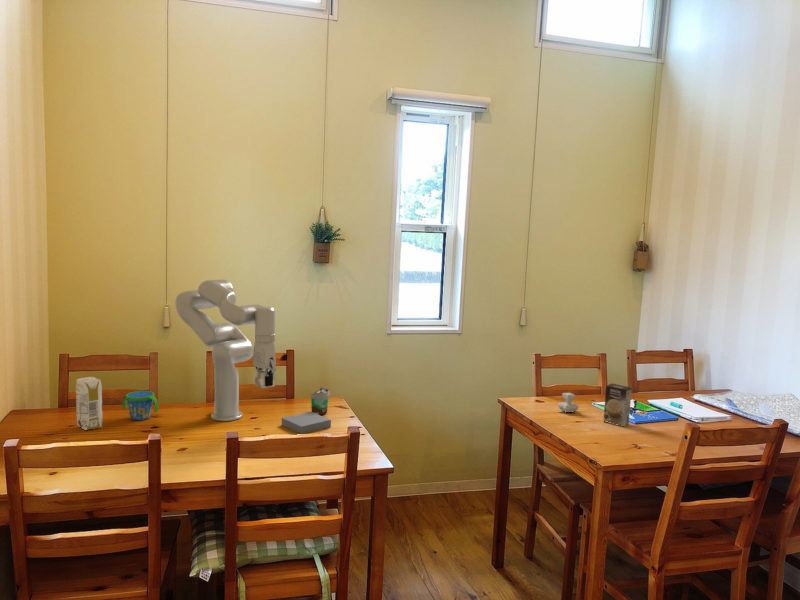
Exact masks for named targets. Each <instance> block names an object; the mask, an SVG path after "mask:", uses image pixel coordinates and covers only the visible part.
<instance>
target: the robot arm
mask: <svg viewBox="0 0 800 600" xmlns="http://www.w3.org/2000/svg"><path fill="white" fill-rule="evenodd" d="M236 303H237V295H236V294H235V292H234V287H233V285H232V283H231V282H230V281H229V280H227V279H209V280H204V281H202V282H201V283H200V284H199V285H198V288H197V289H192V290H191V289H190V290H185V291H183V292H180V293H179V294H177V295H176V298H175V309H176V313H177V314H178V317H180V319H181V321H183V322H184V323H185V324H187V326H188V327H190V328H191V329H192V330H193V332H194V334H195V335H196V336H197V337H198V338H199V339H200V340H201V341H202V343H203V344H204V345H205V346H206V347H208V348H212V351H211V357H212V363H213V369H214V404H213V408H214V412H212V413H211V414H210V419H212V420H213V421H217V422H218V421H219V422H230V421H235V420H236V421H237V420H239V419H241V418H243V412H242V411H240V410H239V407H240V406H239V402H240V399H239V398H240V397H239V394H240V391H239V387H240V386H239V382H240V381H239V380H240V379H239V378H240V377H239V376H240V375H239V371H238V369H237V368H236V365H235V364H237V363H243V362H247V361H249V360H250V359H251V358H252V365H253V367H255V370H262V369H265V373H266V376H265V386H266V387H267V386H272V385H273V375H274V372H276V371H277V367H276V362H277V361H276V360H277V359H276V358H277V357H276V347H275V343H276V336H275V335H276V311H275V308H274V307H272V306H263V305H260V304H246V305H236ZM215 307H216V308H218V309H219V312H220V314H221V317H222V318H223V319H224V320H225V321H227V322H222V323H217V322H215V321H213V320H212V319H211V318H210V316H209V315H207V314H206V313H204V312H203V311H202V310H205V309H207V310H208V309H212V308H213V309H214V308H215ZM253 324H254V344H252V343H251V341H250V340H249V339H248V337H247V336H246V335H245V334H244V333H243V332H242V331H241V330H240V329H239V328H238V327H237V326H248V325H253ZM253 345H254V346H253ZM268 370H270V371H269V372H268ZM267 388H268V387H267Z"/></svg>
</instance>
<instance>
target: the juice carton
mask: <svg viewBox="0 0 800 600" xmlns="http://www.w3.org/2000/svg"><path fill="white" fill-rule="evenodd" d="M102 385H103V384H102V381H101V379H99V378H97V377H95V376H88V377H87V376H86V377H81V378H76V384H75V405H76V410H75V411H76V423H77V427H78V426H79V427H81V428H82V429H84V430H88V431H90V430H89V429H93V430H96V429H95V428H98V429H100V428H99V427H101V428H102V427H103V388H102ZM79 427H78V428H79ZM81 428H80V429H81ZM82 429H81V430H82ZM84 430H83V431H84Z"/></svg>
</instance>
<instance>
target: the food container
mask: <svg viewBox="0 0 800 600" xmlns="http://www.w3.org/2000/svg"><path fill="white" fill-rule="evenodd" d="M330 396H331V393H330V389H328V388H326V387H322V386H320V387H319V390H316V391H315V392H314V393H310V400H311V401H310V402H311V407H310V408H311V412H313V413H315V414H318V415H320V416H321V415H323V416H326V415H327V414H328V407H329V406H328V405H329V397H330ZM326 413H327V414H326ZM325 414H326V415H325Z"/></svg>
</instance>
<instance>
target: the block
mask: <svg viewBox="0 0 800 600" xmlns="http://www.w3.org/2000/svg"><path fill="white" fill-rule="evenodd" d="M269 371H270V370H268V372H269ZM275 372H276V371H275ZM275 372H274V375H273V385H272V386H267V387H266V386H265V376H266V373H265V369H262V370H256V369H255V370H254V386H256V387H257V388H260V389H265V388H266V389H267V388H272V387H275V386H276V385H275V378H276V377H275V375H276V373H275Z"/></svg>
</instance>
